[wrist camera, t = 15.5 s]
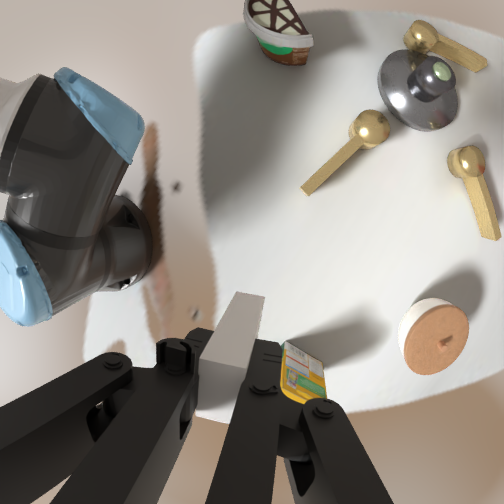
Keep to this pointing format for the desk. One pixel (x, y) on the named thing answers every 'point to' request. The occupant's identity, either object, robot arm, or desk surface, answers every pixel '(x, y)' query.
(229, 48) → the desk surface
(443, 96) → the base
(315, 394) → the crayon box
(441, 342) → the lidded jar
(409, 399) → the desk surface
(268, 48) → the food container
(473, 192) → the gold lever handle
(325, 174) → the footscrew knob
